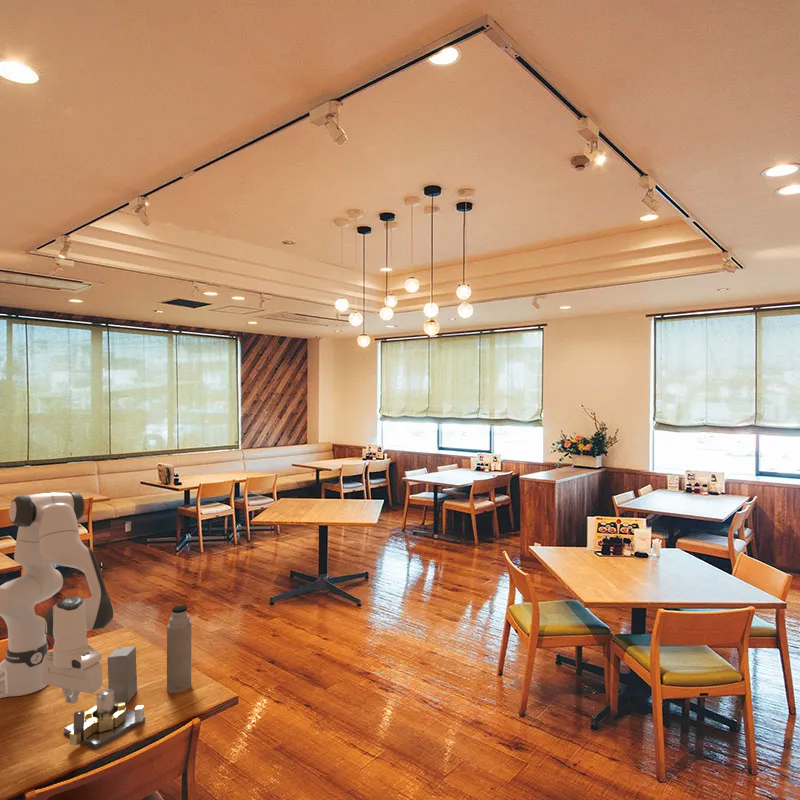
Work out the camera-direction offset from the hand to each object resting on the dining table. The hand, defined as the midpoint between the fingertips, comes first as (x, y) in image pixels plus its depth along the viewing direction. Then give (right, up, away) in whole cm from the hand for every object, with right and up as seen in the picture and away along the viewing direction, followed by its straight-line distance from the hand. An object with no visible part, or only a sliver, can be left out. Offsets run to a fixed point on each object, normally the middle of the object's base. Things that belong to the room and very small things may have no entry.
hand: (71, 702), depth 162 cm
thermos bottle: (+19, -12, +31) cm, 39 cm away
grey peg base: (+6, -12, +8) cm, 15 cm away
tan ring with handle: (+5, -10, +5) cm, 12 cm away
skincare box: (+3, -12, +25) cm, 27 cm away
